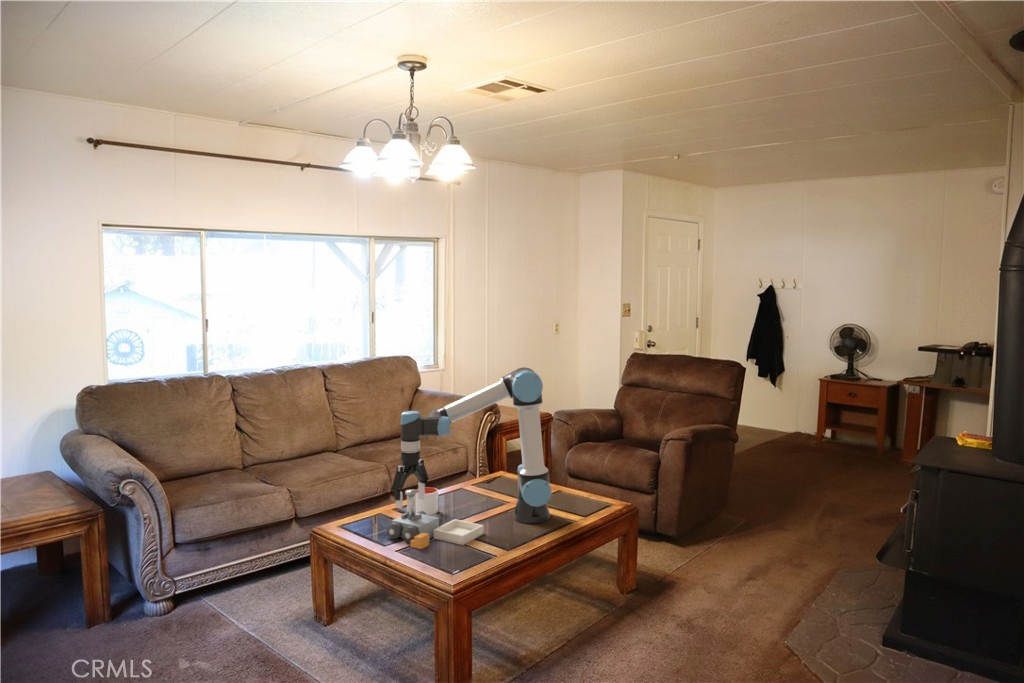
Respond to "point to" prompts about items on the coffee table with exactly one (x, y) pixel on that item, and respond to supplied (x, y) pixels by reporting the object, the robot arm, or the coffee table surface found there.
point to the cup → (428, 501)
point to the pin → (411, 503)
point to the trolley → (414, 526)
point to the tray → (458, 531)
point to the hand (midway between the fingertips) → (410, 503)
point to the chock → (420, 541)
